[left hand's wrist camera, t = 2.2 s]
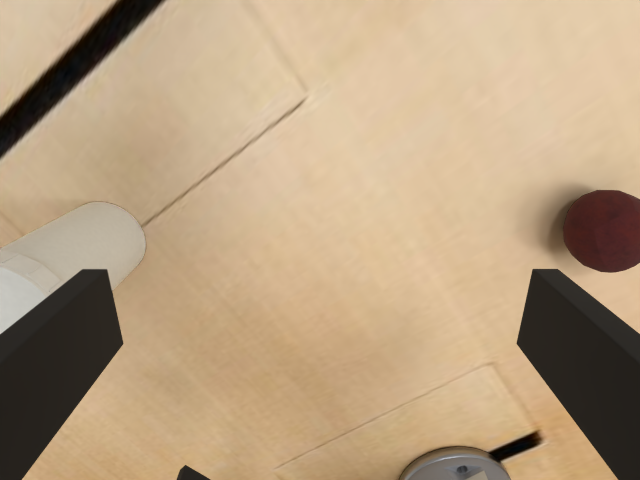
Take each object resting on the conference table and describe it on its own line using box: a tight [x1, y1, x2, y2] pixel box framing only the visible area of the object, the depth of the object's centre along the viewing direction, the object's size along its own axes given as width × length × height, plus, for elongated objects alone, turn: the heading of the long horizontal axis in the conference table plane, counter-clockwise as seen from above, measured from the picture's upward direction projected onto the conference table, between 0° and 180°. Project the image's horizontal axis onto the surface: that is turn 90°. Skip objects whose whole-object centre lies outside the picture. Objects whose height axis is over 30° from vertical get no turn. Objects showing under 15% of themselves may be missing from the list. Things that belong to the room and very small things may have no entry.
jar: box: [0, 202, 146, 291], centre depth 35 cm, size 8×8×15 cm
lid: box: [0, 251, 64, 334], centre depth 28 cm, size 9×9×2 cm
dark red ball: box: [563, 190, 640, 273], centre depth 38 cm, size 7×8×7 cm
